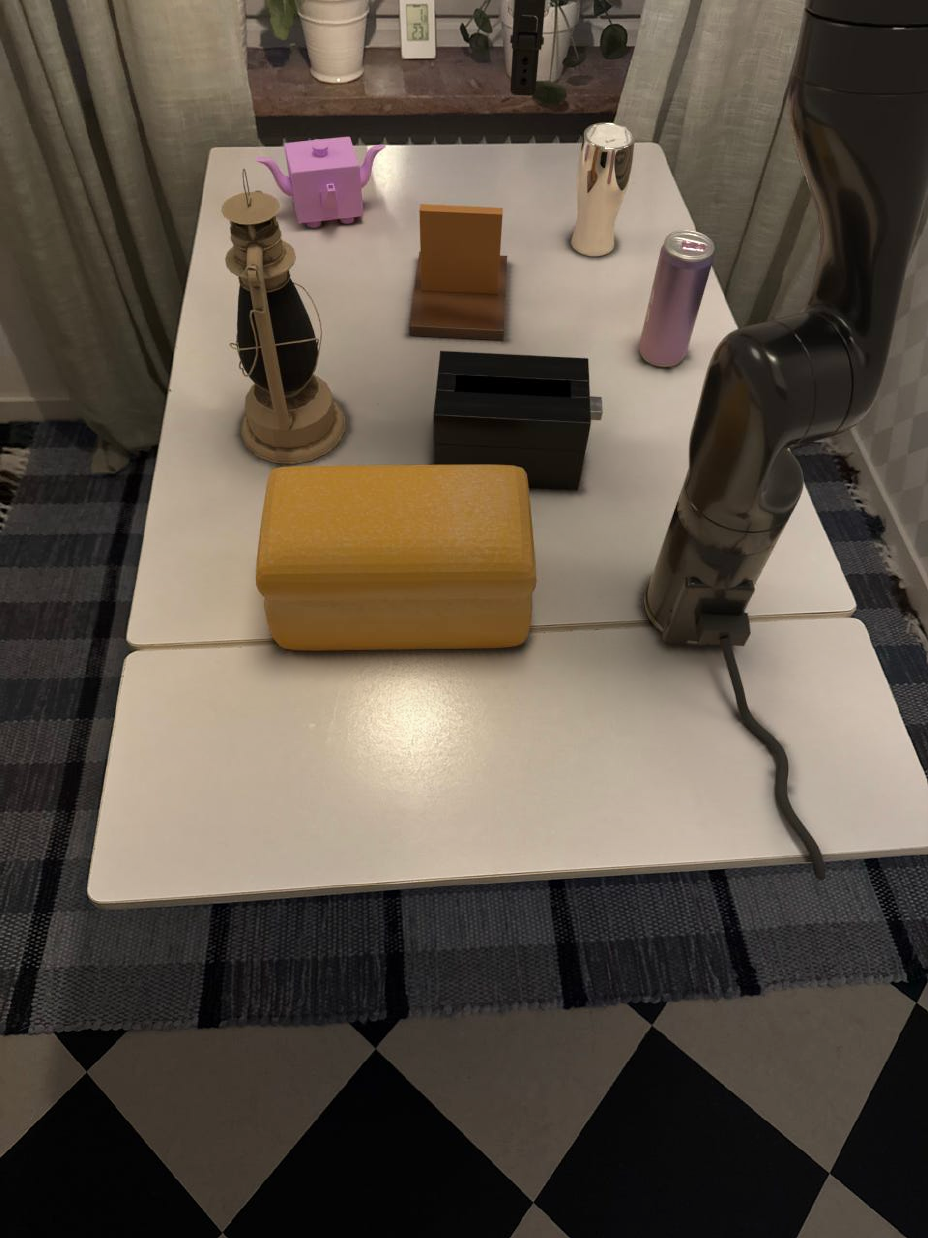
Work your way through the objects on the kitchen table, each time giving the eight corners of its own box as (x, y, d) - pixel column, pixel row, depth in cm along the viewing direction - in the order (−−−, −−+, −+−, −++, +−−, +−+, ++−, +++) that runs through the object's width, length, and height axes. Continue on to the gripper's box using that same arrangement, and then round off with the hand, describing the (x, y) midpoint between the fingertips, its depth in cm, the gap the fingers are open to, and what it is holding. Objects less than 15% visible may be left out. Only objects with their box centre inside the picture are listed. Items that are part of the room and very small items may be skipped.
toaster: (592, 491, 94) (606, 423, 86) (434, 482, 95) (433, 414, 86) (590, 427, 100) (603, 358, 92) (440, 419, 100) (440, 350, 92)
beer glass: (559, 249, 120) (573, 140, 107) (579, 224, 123) (595, 116, 111) (605, 264, 118) (625, 154, 106) (624, 238, 121) (645, 129, 109)
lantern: (245, 386, 103) (181, 128, 78) (344, 381, 104) (312, 125, 79) (238, 474, 95) (164, 219, 70) (345, 469, 96) (310, 214, 71)
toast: (497, 294, 111) (502, 213, 102) (421, 290, 111) (419, 210, 102) (498, 287, 112) (502, 207, 103) (422, 284, 112) (420, 203, 103)
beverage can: (683, 372, 106) (715, 263, 93) (635, 365, 106) (660, 255, 94) (686, 342, 109) (717, 232, 97) (639, 335, 110) (664, 225, 97)
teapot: (271, 248, 118) (258, 179, 110) (261, 197, 126) (248, 128, 117) (398, 233, 121) (395, 164, 113) (381, 183, 128) (377, 115, 120)
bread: (519, 546, 90) (531, 442, 77) (528, 650, 83) (542, 554, 70) (286, 548, 89) (261, 444, 77) (274, 653, 82) (244, 557, 69)
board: (503, 340, 109) (504, 330, 107) (409, 335, 109) (408, 325, 107) (506, 265, 117) (507, 255, 116) (419, 260, 118) (419, 250, 116)
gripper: (493, -199, 67) (484, 33, 81) (486, -138, 59) (478, 107, 73) (588, -195, 67) (564, 36, 81) (593, -134, 59) (566, 111, 73)
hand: (523, 70), depth 77 cm, fingers open, 8 cm apart
